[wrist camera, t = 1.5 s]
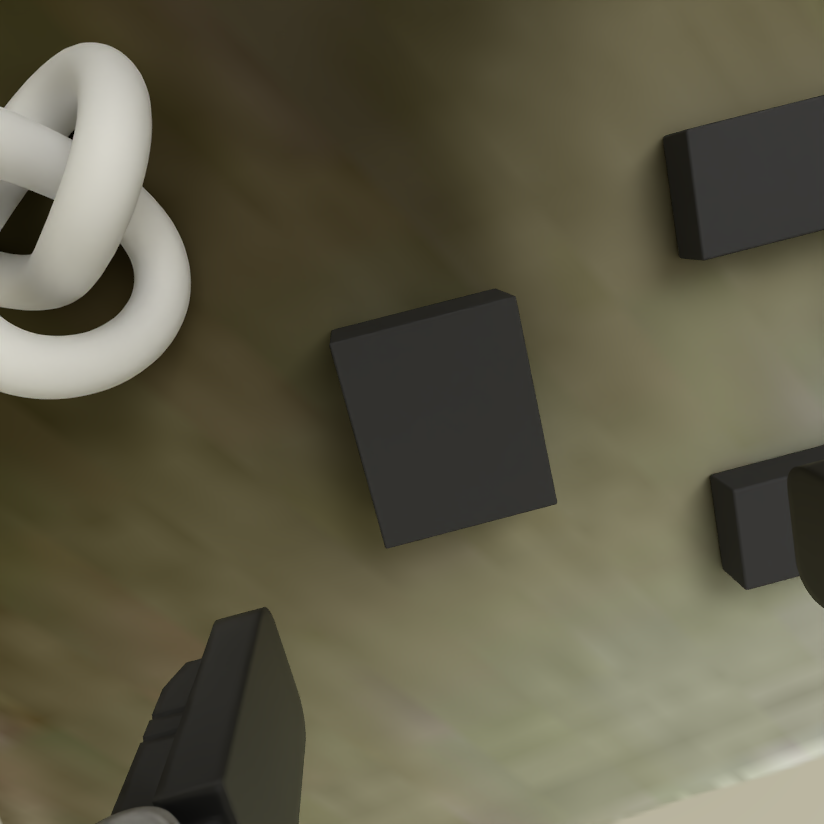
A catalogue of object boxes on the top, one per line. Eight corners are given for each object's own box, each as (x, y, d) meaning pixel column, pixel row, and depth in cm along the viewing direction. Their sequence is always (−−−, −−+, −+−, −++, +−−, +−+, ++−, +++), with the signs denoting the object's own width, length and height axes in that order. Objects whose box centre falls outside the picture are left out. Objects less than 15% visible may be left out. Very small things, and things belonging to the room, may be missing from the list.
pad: (330, 330, 21) (328, 343, 18) (496, 287, 21) (516, 295, 19) (381, 515, 22) (385, 550, 20) (535, 474, 23) (558, 504, 20)
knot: (10, -21, 18) (-144, -135, 12) (285, 167, 20) (261, 143, 14) (-121, 237, 19) (-316, 239, 14) (149, 393, 21) (76, 455, 15)
